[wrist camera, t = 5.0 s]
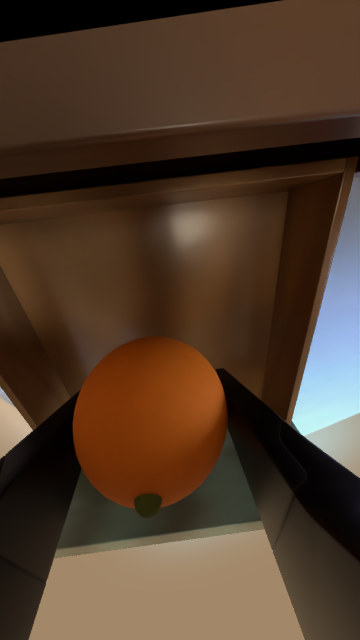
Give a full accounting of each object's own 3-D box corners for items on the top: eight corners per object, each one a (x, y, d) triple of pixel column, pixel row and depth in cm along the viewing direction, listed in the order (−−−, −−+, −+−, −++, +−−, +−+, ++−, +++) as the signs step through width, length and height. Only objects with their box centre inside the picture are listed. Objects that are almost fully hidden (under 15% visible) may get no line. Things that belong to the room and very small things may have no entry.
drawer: (311, 181, 10) (677, 53, 3) (270, 414, 18) (336, 529, 11) (-42, 223, 9) (-612, 198, 2) (82, 439, 17) (28, 572, 11)
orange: (207, 307, 9) (274, 430, 3) (211, 392, 12) (252, 542, 6) (88, 321, 9) (-44, 472, 3) (119, 404, 12) (74, 566, 6)
